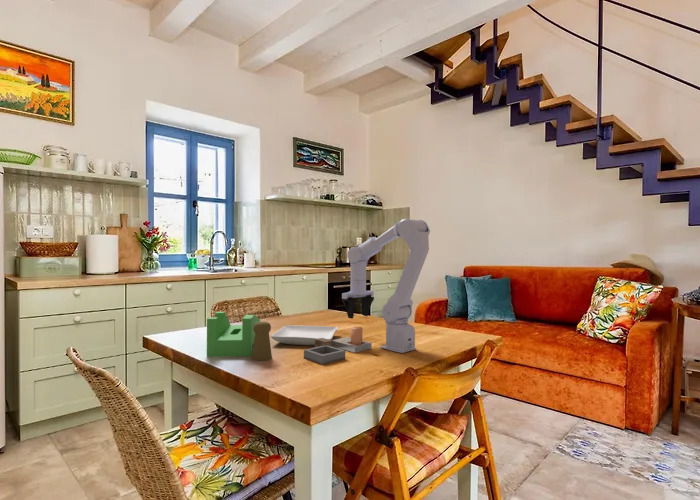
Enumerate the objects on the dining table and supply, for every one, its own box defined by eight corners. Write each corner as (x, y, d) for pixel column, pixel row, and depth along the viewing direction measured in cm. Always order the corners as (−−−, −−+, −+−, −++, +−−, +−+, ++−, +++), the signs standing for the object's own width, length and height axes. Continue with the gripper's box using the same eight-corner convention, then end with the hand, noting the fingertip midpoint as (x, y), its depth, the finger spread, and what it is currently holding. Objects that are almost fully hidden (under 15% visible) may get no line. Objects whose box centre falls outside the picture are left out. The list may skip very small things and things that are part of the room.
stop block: (331, 351, 131) (331, 340, 131) (324, 352, 129) (324, 341, 129) (321, 348, 135) (321, 337, 135) (314, 349, 133) (314, 339, 133)
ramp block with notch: (250, 357, 125) (251, 318, 125) (206, 357, 123) (206, 318, 123) (260, 339, 148) (260, 306, 148) (223, 339, 147) (223, 307, 147)
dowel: (364, 348, 135) (364, 328, 135) (356, 351, 132) (356, 329, 132) (356, 346, 137) (356, 326, 137) (347, 348, 135) (348, 327, 135)
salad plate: (338, 334, 156) (338, 325, 156) (331, 348, 135) (331, 337, 135) (285, 333, 158) (285, 324, 158) (269, 346, 137) (269, 336, 137)
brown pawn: (263, 354, 127) (263, 319, 126) (276, 357, 123) (276, 321, 123) (247, 358, 122) (247, 322, 122) (260, 362, 118) (260, 324, 118)
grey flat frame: (371, 348, 135) (371, 342, 135) (354, 352, 130) (354, 346, 130) (347, 342, 143) (348, 336, 143) (331, 346, 138) (331, 340, 138)
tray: (345, 358, 123) (345, 350, 123) (322, 364, 116) (322, 355, 116) (326, 352, 129) (326, 345, 129) (303, 358, 123) (303, 349, 123)
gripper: (364, 278, 155) (364, 313, 155) (336, 280, 145) (336, 317, 145) (377, 279, 150) (377, 315, 150) (349, 281, 140) (349, 320, 140)
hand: (358, 317), depth 147 cm, fingers open, 7 cm apart
